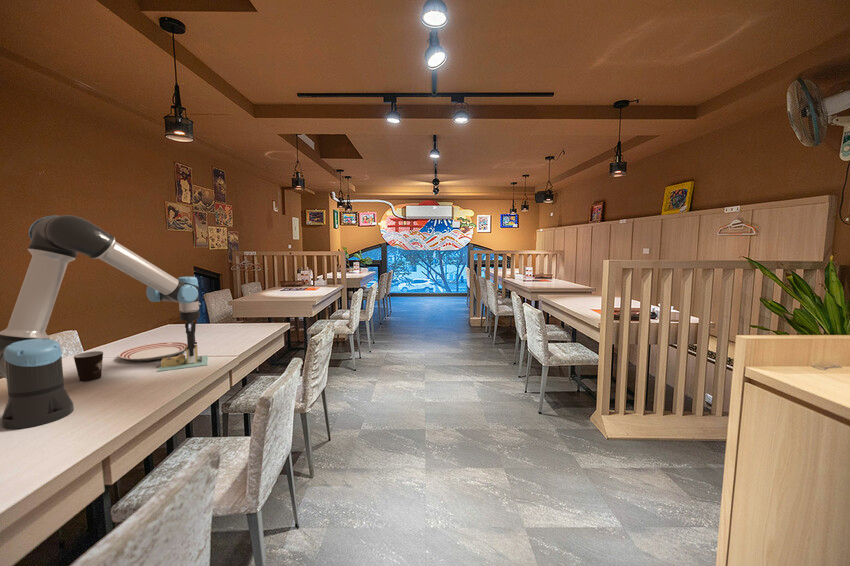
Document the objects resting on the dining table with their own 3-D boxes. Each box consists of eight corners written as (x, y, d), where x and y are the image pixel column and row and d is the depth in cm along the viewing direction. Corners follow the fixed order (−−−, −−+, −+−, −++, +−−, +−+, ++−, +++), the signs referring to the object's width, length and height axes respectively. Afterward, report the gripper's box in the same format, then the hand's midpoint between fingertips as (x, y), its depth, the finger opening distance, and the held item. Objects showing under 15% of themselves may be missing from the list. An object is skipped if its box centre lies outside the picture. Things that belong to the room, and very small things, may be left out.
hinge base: (207, 365, 162) (206, 357, 161) (157, 371, 153) (157, 363, 152) (207, 356, 176) (207, 348, 175) (162, 361, 166) (161, 353, 166)
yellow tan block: (197, 362, 164) (196, 347, 164) (184, 364, 162) (184, 349, 161) (197, 359, 169) (197, 344, 169) (185, 360, 167) (184, 345, 166)
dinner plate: (153, 366, 161) (153, 359, 160) (102, 362, 166) (102, 355, 165) (202, 349, 187) (201, 343, 187) (157, 346, 192) (156, 340, 192)
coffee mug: (87, 383, 139) (85, 358, 138) (69, 381, 141) (67, 356, 140) (118, 373, 150) (116, 350, 149) (101, 371, 152) (99, 348, 151)
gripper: (198, 313, 157) (201, 365, 159) (200, 307, 174) (202, 354, 176) (177, 314, 153) (181, 367, 156) (181, 308, 170) (184, 356, 172)
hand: (192, 360), depth 166 cm, fingers closed on yellow tan block, 6 cm apart
